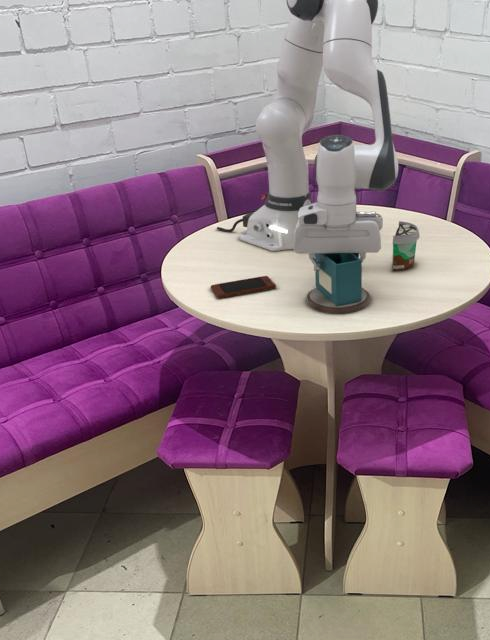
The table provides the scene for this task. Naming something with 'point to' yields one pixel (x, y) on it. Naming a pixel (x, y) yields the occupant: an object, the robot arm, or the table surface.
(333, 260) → the bin
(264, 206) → the robot arm
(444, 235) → the table surface
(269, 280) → the smartphone
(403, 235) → the food container
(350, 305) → the disc
